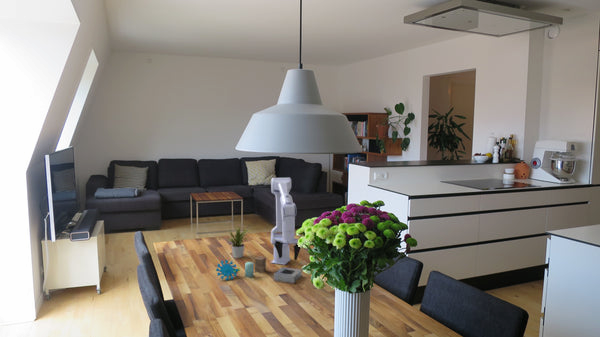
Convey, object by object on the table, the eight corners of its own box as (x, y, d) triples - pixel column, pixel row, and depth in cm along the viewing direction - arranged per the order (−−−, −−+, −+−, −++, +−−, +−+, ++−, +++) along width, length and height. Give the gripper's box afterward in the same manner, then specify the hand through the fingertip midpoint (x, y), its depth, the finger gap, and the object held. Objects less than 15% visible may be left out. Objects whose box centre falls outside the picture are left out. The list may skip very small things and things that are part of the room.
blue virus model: (216, 278, 197) (216, 258, 203) (214, 284, 201) (214, 264, 208) (240, 279, 201) (240, 259, 207) (237, 285, 205) (237, 265, 211)
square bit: (258, 269, 215) (258, 256, 215) (265, 270, 214) (265, 257, 213) (254, 271, 212) (254, 258, 211) (262, 272, 210) (262, 259, 210)
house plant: (257, 258, 231) (257, 228, 229) (234, 263, 223) (234, 231, 222) (245, 251, 243) (245, 222, 241) (222, 255, 235) (222, 225, 233)
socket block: (282, 273, 210) (282, 267, 210) (301, 275, 207) (301, 269, 206) (273, 280, 201) (273, 273, 200) (294, 283, 197) (294, 276, 197)
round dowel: (247, 273, 209) (247, 261, 208) (255, 274, 207) (255, 262, 206) (243, 276, 205) (243, 264, 204) (251, 277, 203) (251, 265, 203)
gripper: (270, 230, 200) (270, 259, 201) (300, 233, 195) (299, 263, 196) (276, 226, 206) (276, 254, 208) (305, 230, 201) (305, 258, 203)
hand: (288, 258), depth 203 cm, fingers open, 7 cm apart
